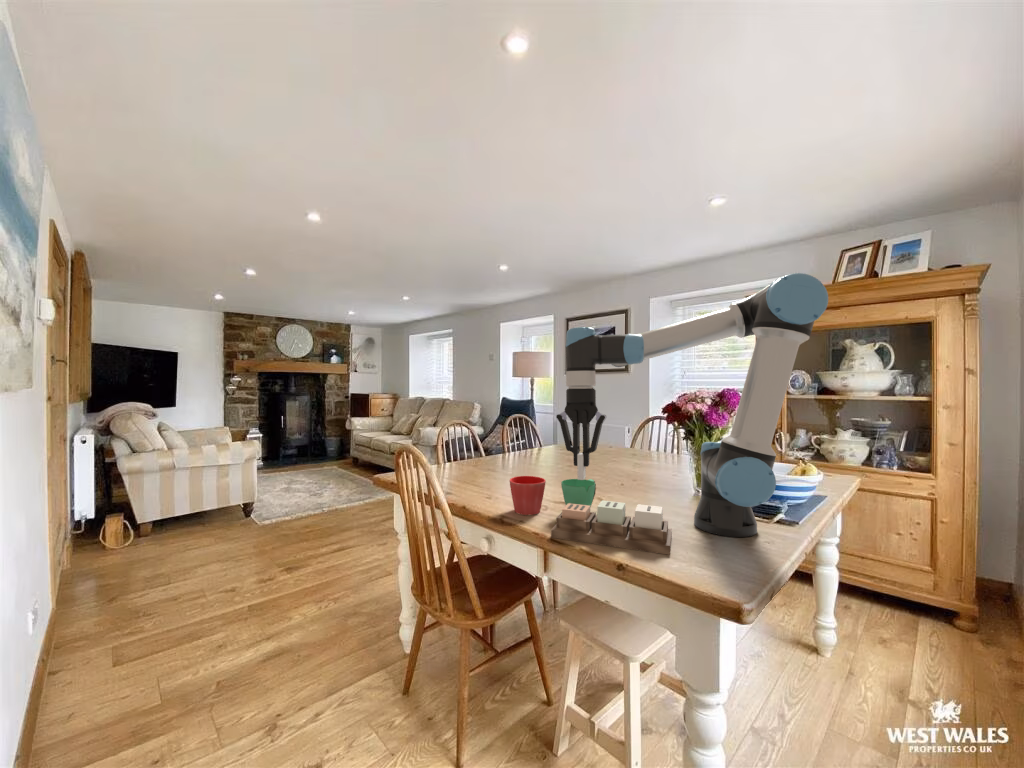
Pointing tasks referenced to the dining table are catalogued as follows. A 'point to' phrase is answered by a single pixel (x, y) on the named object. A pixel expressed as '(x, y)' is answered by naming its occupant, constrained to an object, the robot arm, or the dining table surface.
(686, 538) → the dining table surface
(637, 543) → the tile rack
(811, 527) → the dining table surface
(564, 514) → the tile
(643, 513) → the tile
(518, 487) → the flower pot
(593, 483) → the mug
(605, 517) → the tile
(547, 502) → the dining table surface
